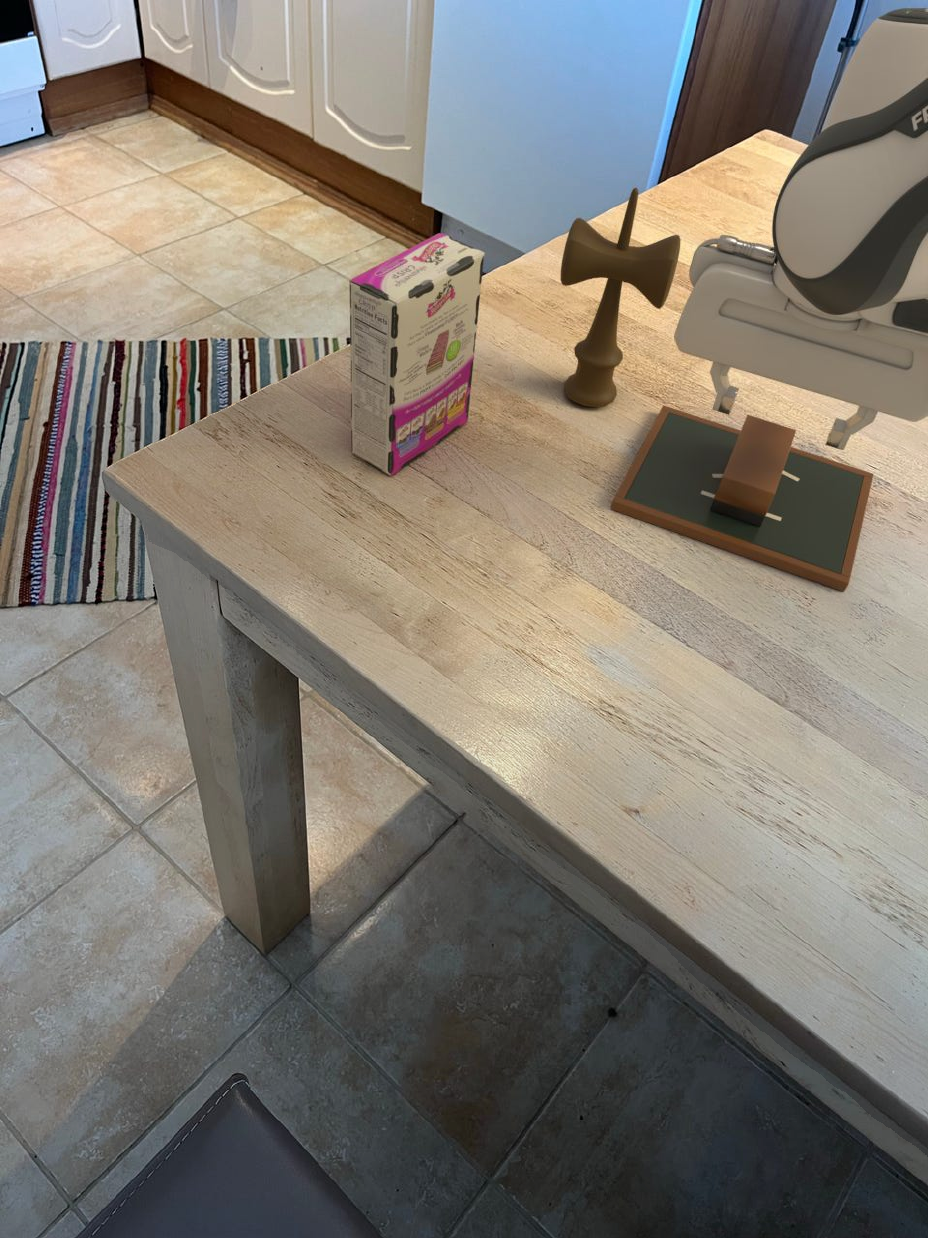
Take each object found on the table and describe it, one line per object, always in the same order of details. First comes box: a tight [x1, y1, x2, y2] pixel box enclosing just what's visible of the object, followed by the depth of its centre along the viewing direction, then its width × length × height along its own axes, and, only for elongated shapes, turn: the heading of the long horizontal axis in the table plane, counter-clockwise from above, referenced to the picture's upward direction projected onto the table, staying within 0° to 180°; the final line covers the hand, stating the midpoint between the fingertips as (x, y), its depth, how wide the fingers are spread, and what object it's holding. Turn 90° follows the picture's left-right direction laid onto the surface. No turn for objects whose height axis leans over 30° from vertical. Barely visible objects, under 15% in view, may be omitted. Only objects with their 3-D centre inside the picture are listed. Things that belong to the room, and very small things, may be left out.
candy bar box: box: [348, 232, 486, 477], centre depth 78 cm, size 11×5×16 cm, turn 143°
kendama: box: [560, 187, 682, 408], centre depth 84 cm, size 6×10×20 cm, turn 76°
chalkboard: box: [610, 405, 874, 592], centre depth 83 cm, size 20×16×1 cm
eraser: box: [710, 414, 797, 527], centre depth 81 cm, size 4×10×4 cm, turn 156°
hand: (777, 426), depth 78 cm, fingers open, 8 cm apart
